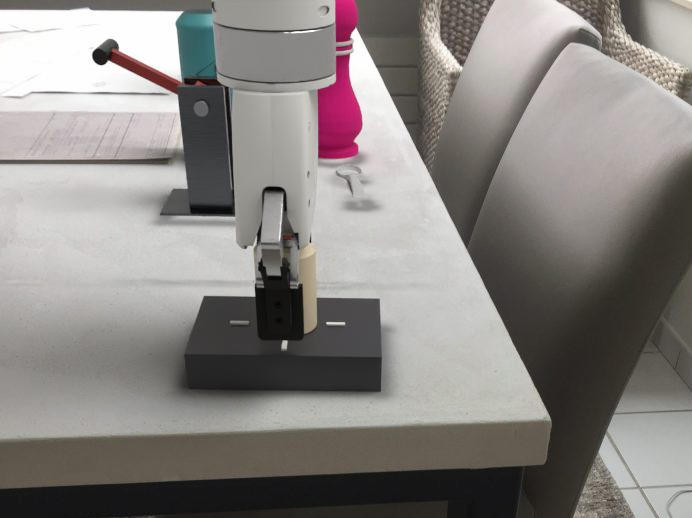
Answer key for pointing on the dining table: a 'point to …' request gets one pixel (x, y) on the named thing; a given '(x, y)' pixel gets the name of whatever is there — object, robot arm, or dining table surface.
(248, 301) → the dial panel
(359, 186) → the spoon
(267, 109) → the robot arm
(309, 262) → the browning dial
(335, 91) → the pepper mill
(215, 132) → the lever bracket
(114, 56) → the red lever
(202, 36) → the beverage bottle
